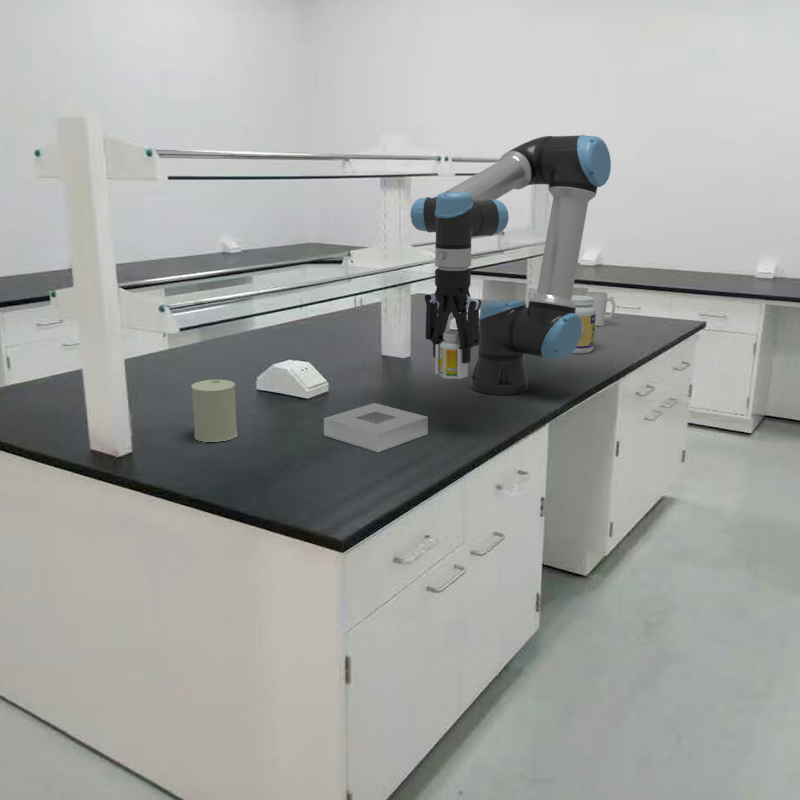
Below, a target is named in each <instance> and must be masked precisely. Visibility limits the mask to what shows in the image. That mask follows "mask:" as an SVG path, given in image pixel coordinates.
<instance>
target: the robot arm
mask: <svg viewBox="0 0 800 800" xmlns="http://www.w3.org/2000/svg"><path fill="white" fill-rule="evenodd" d="M611 166H612V162H611V155H610V151H609V148H608V146H607V144H606V142H605V141H604V139H602V138H601V137H600V136H596V135H586V134H581V135H557V136H556V135H554V136H553V135H549V136H547V135H546V136H541V137H536V138H534V139H531V140H528V141H526V142H524V143H522V144H519V145H518V146H515V147H513V148H512V149H510V150H508V151H507V152H505V153H503V154H502V155H501V156H500V158H499V161H497V162H495V163H494V164H492V165H490V166H489V167H486V168H485V169H483V170H481V171H479V172H478V173H476V174H473V176H470V177H468V178H467V179H465V180H463V181H462V182H460V183H458V184H457V185H455V186H452V187H451V188H449V189H448V190H446V191H443V192H440V193H438V194H437V196H435V197H430V196H426V197H419V198H417V199H416V200H415V201H414V202H413V204H412V206H411V209H410V214H409V215H410V219H411V224H412V225H413V227H414V228H415V229H416V230H418V231H421V232H426V233H435V243H434V244H435V247H434V248H435V253H434V254H435V255H434V256H435V257H434V259H435V261H434V265H435V267H437V268H436V269H435V271H434V284H435V285H434V286H435V287H436V289H435V292H434V293H429V294H425V295H424V302H425V305H426V306H425V307H426V309H425V311H426V312H425V313H426V314H425V340H429V341H431V343H432V356H433V358H435V360H434V363H435V364H434V369H435V370H434V374H436V375H440V344H441V343H442V342H443V341H444V339H443V333H444V332H446V329H447V324H448V321H449V317H450V314H451V313H452V317H453V318H454V320H455V324H456V325H455V326H456V331H458V335H459V340H460V345H461V347H459V348H458V356H457V379H461V380H462V379H464V378H467V377H468V376H469V375H468V374H469V373H468V371H469V370H468V369H469V367H468V365H469V363H471V356H472V355H471V351H472V349H471V348H473V347H477V346H478V358H477V361H476V363H475V366H474V369H473V372H472V375H471V376H470V377H471V378H470V388H471V389H472V390H474V391H476V392H479V393H483V394H489V395H499V396H506V395H507V396H509V395H517V394H522V393H525V392H527V391H528V390H529V377H528V374H527V370H526V367H525V363H524V355H531V356H536V357H541V358H544V359H547V360H550V359H552V360H553V359H554V360H562V359H566V358H568V357H569V356H570V355H571V354H573V353H572V352H573V351H574V350H575V348H576V346H577V345H578V342H579V340H580V337H581V332H582V325H581V319H580V317H579V316H578V315H576V314H575V311H576V306H575V305H574V303H573V302H572V300H571V298H572V295H573V290H574V287H575V280H576V275H577V274H576V273H577V268H578V264H579V258H580V257H579V256H580V251H581V245H582V240H583V234H584V229H585V222H586V217H587V213H588V207H589V202H590V201H591V200H592V199H593V198H595V197H596V196H597V192H598V188H600V187H602V186H604V185H605V184H606V183H607V182H608V180H609V178H610V174H611V170H612V169H611V168H612V167H611ZM532 185H548V189H547V190H548V192H549V193H550V195H551V196H552V202H551V208H550V213H549V218H548V219H549V220H548V225H547V231H546V238H545V243H544V248H543V249H544V250H543V254H542V255H543V256H542V261H541V267H540V270H539V271H540V273H539V278H538V284H537V288H536V294H535V295H534V296H533V297H532V298H530V299H529V300H528V304H527V303H526V301H525V300H524V299H505V300H504V299H502V300H495V301H494V300H493V301H488V302H485V303H483V304H482V301H481V299H475V298H473V297H472V296H471V294H470V291H469V290H470V288H471V281H472V279H471V275H472V273H471V272H472V271H471V269H470V268H469V267H471V266H472V238H475V237H484V236H485V237H486V236H490V237H492V236H493V235H497V234H501V233H502V232H503V231H504V230H505V229H506V227H507V225H508V223H509V218H510V217H509V210H508V208H507V206H506V205H505V203H504V202H503V201H500V200H498V199H499V198H500V197H503V196H504V195H506V194H508V193H510V192H511V191H514V190H522V189H524V188H525V187H527V186H532ZM527 305H528V307H527Z"/></svg>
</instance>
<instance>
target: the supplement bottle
mask: <svg viewBox="0 0 800 800" xmlns="http://www.w3.org/2000/svg"><path fill="white" fill-rule="evenodd" d="M443 339H444V341H443V342H441V344H440V374H439V376H440V377H441V378H442V379H448V380H449V379H451V380H452V379H456V380H457V379H458V378H457V356H458V348H459V347H461V345H460V340H459V335H458V330H452V331H449V330H448V331H445V332H444V333H443Z"/></svg>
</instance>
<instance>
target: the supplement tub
mask: <svg viewBox="0 0 800 800" xmlns="http://www.w3.org/2000/svg"><path fill="white" fill-rule="evenodd" d="M571 300H572V302H573V303H574V305H575V306H576V311H575V314H576V315H578V316H579V317H580V319H581V325H582V332H581V337H580V340H579V342H578V345H577V346H576V348H575V350H574V351H573V352H572V353H571V354H574V355H575V354H577V355H578V354H579V355H580V354H587V353H591V352H592V351H593V350H594V348H595V346H594V344H595V332H596V330H595V328H596V327H595V318H596V309H595V307H593V306H592V305H593V304H594V298H593V297H589V296H588V295H582V294H581V295H579V294H578V295H576V294H574V295H573V294H572V298H571Z"/></svg>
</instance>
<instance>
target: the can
mask: <svg viewBox="0 0 800 800" xmlns="http://www.w3.org/2000/svg"><path fill="white" fill-rule="evenodd" d="M190 387H191V393H192V394H191V395H192V398H191V399H192V406H193V407H192V409H193V412H192V413H193V423H194V426H193V427H194V428H193V429H194V435H193V437H194V440H195V441H197V440H198V442H200V441H202V442H201V443H205V442H220V441H226V442H228V441H227V440H230V441H232V440H234V439H236V438H237V437H238V434H239V433H238V427H237V412H236V411H237V410H236V383H235V382H233V381H232V380H227V379H207V380H206V379H205V380H199V381H197V382H194V383H193V384H191V385H190ZM235 437H236V438H235ZM233 438H234V439H233ZM231 439H232V440H231ZM220 443H221V442H220Z"/></svg>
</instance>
